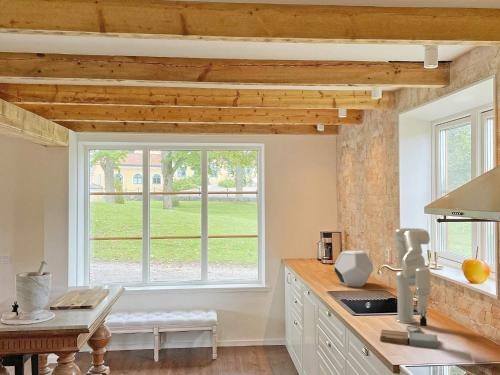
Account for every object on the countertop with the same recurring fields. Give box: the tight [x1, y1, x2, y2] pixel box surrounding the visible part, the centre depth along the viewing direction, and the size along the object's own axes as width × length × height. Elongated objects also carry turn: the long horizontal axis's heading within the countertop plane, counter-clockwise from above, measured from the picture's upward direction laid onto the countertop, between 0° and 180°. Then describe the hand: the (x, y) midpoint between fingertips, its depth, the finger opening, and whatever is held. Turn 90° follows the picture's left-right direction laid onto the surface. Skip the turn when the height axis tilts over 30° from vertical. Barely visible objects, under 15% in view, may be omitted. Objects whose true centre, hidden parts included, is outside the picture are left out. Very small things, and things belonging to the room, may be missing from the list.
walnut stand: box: [379, 329, 409, 346], centre depth 249 cm, size 14×14×3 cm
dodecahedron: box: [333, 249, 374, 288], centre depth 403 cm, size 34×36×30 cm
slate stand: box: [408, 331, 439, 349], centre depth 244 cm, size 14×14×3 cm
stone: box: [405, 325, 426, 334], centre depth 261 cm, size 12×9×3 cm
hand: (423, 325), depth 244 cm, fingers closed
